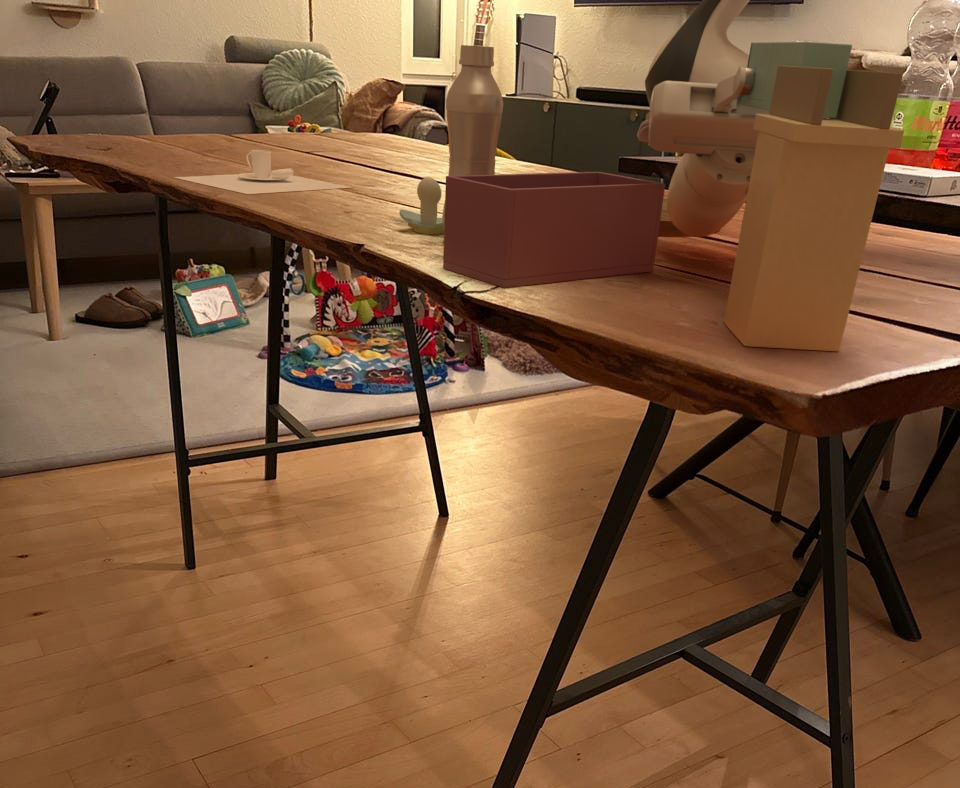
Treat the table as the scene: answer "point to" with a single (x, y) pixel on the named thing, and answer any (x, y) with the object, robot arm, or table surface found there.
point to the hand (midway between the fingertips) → (775, 76)
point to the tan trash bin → (810, 207)
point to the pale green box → (800, 55)
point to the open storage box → (550, 226)
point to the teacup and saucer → (262, 178)
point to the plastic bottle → (473, 115)
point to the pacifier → (426, 209)
